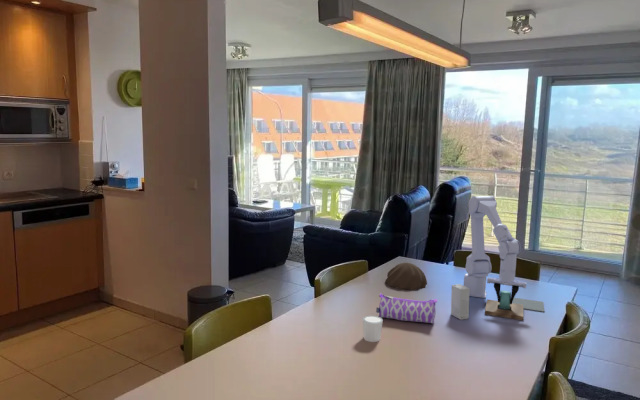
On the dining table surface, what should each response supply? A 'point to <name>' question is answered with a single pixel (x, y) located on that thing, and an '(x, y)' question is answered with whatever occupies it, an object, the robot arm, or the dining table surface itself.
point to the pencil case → (407, 309)
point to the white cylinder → (372, 328)
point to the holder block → (513, 314)
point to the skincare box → (460, 301)
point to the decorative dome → (406, 277)
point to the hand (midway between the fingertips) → (504, 302)
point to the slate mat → (530, 304)
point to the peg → (505, 300)
